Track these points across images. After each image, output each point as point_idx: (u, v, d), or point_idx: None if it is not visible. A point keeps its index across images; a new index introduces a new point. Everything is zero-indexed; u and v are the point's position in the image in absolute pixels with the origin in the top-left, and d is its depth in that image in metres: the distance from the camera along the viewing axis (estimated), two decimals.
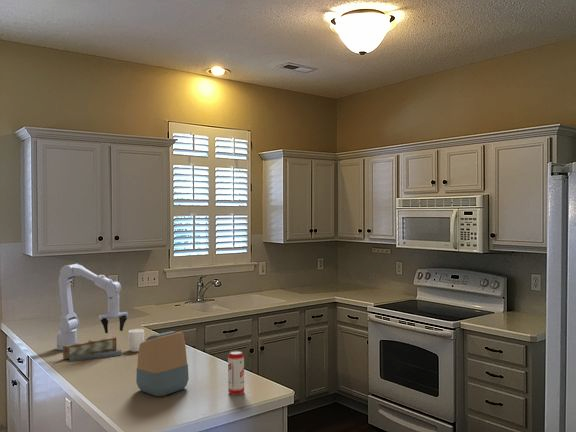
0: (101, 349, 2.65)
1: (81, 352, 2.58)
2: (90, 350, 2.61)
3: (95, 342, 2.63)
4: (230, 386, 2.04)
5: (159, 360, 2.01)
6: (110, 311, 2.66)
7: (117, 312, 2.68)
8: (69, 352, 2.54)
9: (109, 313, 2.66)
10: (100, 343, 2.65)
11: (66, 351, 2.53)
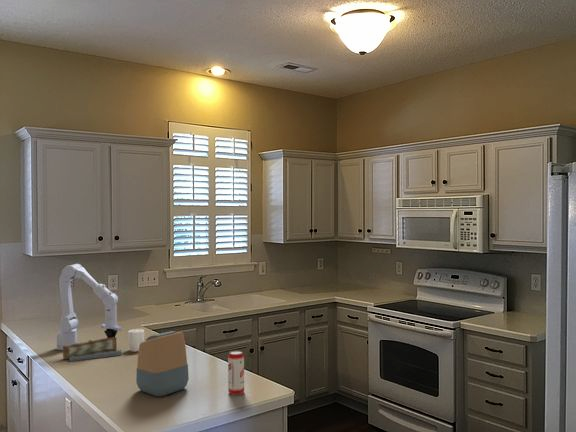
0: (101, 349, 2.65)
1: (81, 352, 2.58)
2: (90, 350, 2.61)
3: (95, 342, 2.63)
4: (230, 386, 2.04)
5: (159, 360, 2.01)
6: None
7: (108, 324, 2.69)
8: (69, 352, 2.54)
9: None
10: (101, 343, 2.65)
11: (66, 351, 2.54)
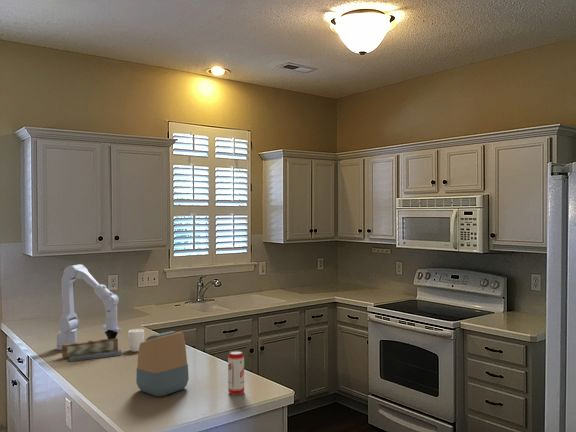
0: (101, 350, 2.64)
1: (80, 352, 2.59)
2: (90, 350, 2.61)
3: (95, 342, 2.62)
4: (230, 386, 2.04)
5: (159, 360, 2.01)
6: None
7: (108, 326, 2.67)
8: (67, 351, 2.56)
9: None
10: (101, 344, 2.64)
11: (64, 350, 2.56)
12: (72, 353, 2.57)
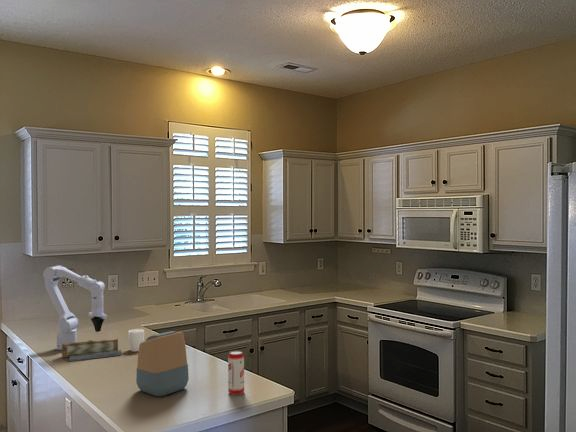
0: (101, 350, 2.63)
1: (79, 351, 2.59)
2: (89, 350, 2.61)
3: (94, 342, 2.62)
4: (230, 386, 2.04)
5: (159, 360, 2.01)
6: None
7: (94, 312, 2.69)
8: (67, 350, 2.57)
9: None
10: (100, 344, 2.63)
11: (64, 349, 2.57)
12: (72, 353, 2.58)
